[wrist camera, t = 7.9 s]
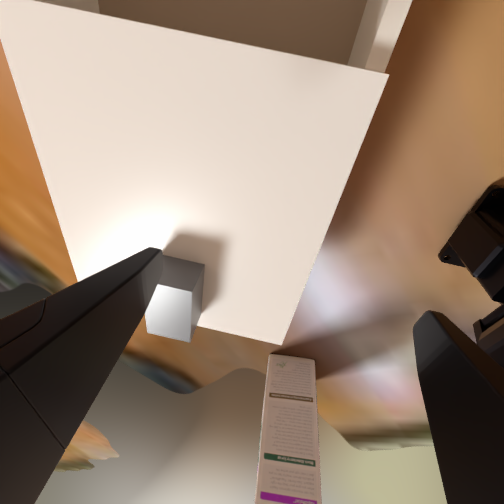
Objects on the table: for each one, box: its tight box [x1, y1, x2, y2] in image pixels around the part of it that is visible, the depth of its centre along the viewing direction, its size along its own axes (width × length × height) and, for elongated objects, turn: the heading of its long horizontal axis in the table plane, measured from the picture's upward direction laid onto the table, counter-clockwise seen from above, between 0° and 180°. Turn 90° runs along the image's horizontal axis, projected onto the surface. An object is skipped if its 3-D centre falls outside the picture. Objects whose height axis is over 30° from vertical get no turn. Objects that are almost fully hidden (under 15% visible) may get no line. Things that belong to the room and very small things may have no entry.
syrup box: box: [255, 354, 322, 504], centre depth 30 cm, size 6×6×14 cm
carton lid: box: [0, 0, 389, 345], centre depth 15 cm, size 16×18×3 cm
